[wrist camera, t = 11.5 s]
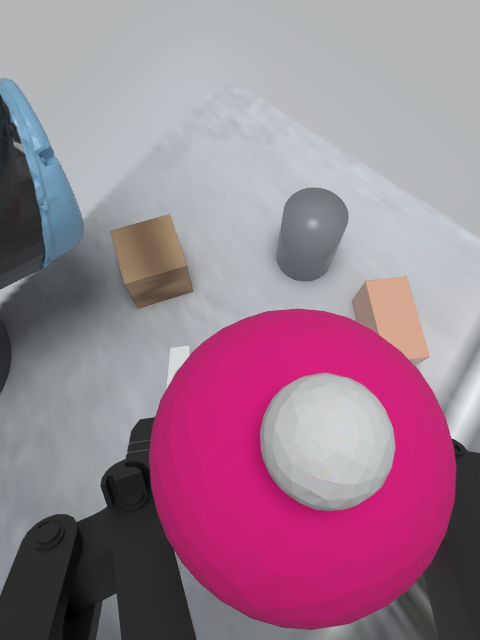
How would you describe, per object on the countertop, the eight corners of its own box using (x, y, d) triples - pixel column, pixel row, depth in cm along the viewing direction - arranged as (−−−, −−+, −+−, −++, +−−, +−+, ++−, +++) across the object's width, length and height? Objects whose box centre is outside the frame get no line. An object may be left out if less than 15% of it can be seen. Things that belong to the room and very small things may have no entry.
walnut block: (138, 308, 44) (124, 284, 39) (125, 260, 46) (109, 230, 41) (193, 291, 45) (186, 265, 39) (178, 245, 47) (169, 214, 41)
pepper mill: (288, 381, 25) (429, 114, 6) (348, 500, 23) (830, 615, 4) (177, 433, 24) (-39, 292, 5) (228, 562, 22) (158, 1082, 3)
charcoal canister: (281, 284, 45) (290, 246, 38) (272, 236, 47) (278, 191, 40) (336, 277, 45) (355, 238, 38) (324, 230, 47) (340, 184, 40)
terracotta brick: (369, 374, 42) (385, 362, 37) (352, 301, 45) (365, 280, 40) (408, 369, 42) (429, 356, 37) (388, 297, 45) (406, 276, 40)
